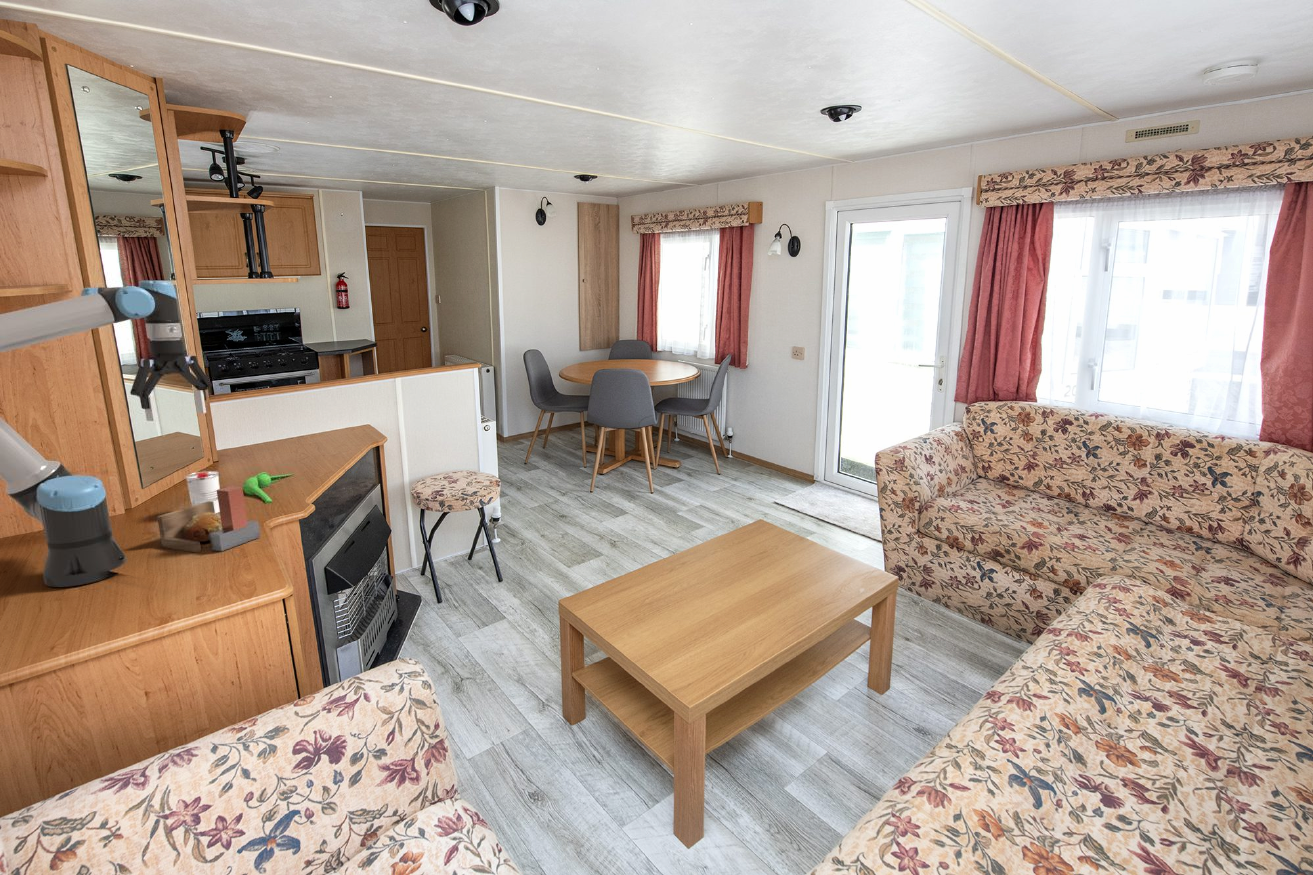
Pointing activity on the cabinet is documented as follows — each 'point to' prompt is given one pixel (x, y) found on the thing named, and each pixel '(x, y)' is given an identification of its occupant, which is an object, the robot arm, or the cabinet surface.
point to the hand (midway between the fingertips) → (177, 416)
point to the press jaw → (233, 521)
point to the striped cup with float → (204, 488)
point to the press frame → (181, 527)
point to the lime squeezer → (260, 485)
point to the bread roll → (202, 526)
